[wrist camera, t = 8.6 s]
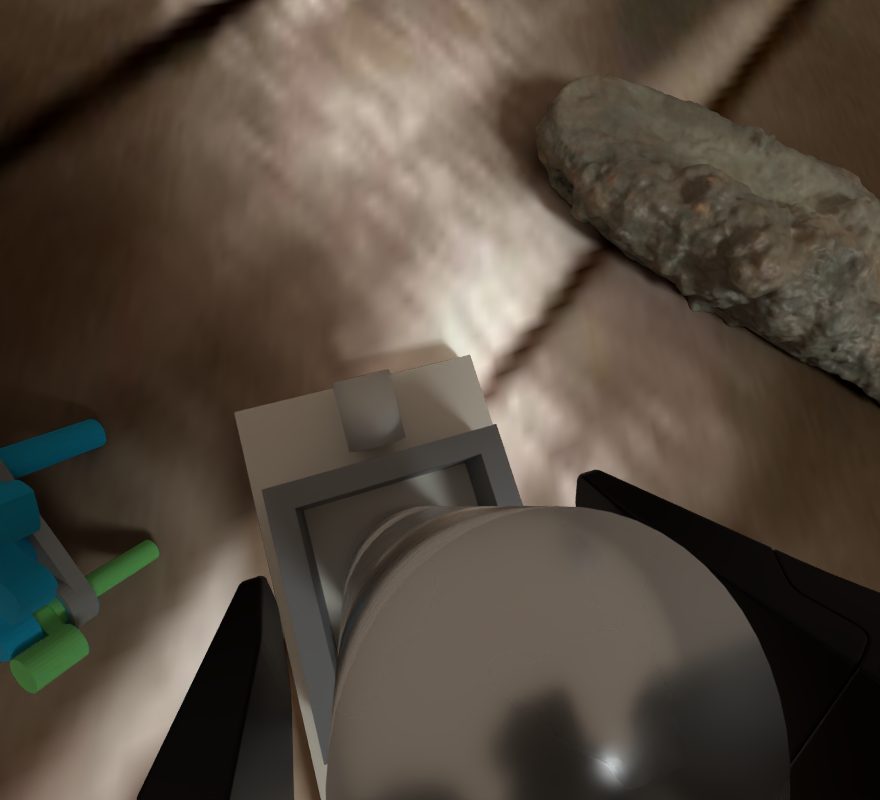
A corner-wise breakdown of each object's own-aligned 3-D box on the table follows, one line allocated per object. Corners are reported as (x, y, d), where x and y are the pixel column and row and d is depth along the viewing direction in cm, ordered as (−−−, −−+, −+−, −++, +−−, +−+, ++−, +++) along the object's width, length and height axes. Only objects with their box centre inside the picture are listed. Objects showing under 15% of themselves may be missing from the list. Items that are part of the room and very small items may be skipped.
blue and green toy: (-274, 438, 14) (-261, 211, 9) (-27, 383, 19) (64, 218, 15) (-50, 744, 15) (75, 676, 10) (134, 611, 20) (276, 523, 15)
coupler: (490, 615, 17) (862, 910, 5) (364, 662, 16) (409, 1197, 4) (453, 490, 18) (690, 453, 5) (330, 528, 17) (270, 592, 4)
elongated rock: (1079, 577, 25) (1079, 412, 28) (1269, 588, 20) (1242, 386, 23) (486, 211, 22) (566, 77, 25) (536, 117, 17) (626, -35, 20)
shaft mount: (580, 720, 18) (632, 766, 14) (333, 830, 16) (327, 913, 12) (464, 362, 20) (485, 330, 17) (240, 417, 18) (214, 394, 15)
